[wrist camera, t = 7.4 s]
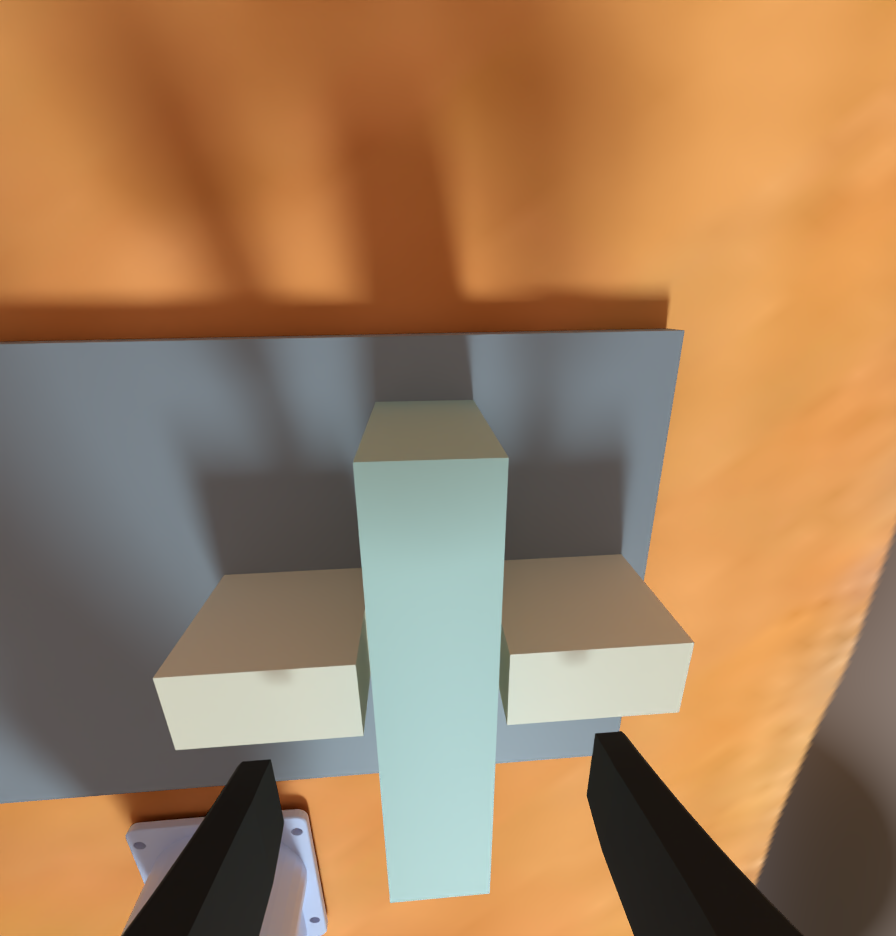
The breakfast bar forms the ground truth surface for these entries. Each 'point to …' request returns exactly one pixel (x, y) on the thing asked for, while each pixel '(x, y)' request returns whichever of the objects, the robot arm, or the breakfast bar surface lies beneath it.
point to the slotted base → (305, 548)
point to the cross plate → (433, 635)
